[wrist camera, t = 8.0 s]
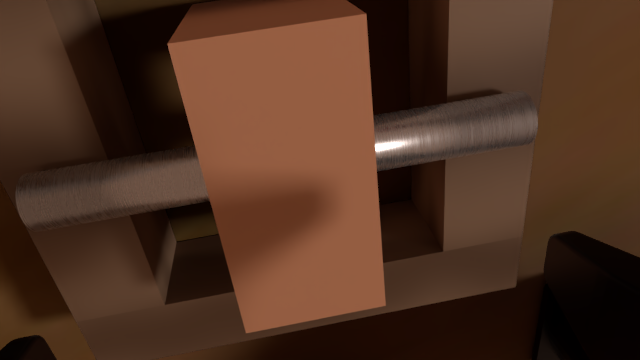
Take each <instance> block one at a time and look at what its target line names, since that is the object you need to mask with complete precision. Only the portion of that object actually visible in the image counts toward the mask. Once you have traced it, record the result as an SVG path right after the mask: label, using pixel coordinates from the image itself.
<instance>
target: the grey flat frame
mask: <svg viewBox="0 0 640 360" xmlns="http://www.w3.org/2000/svg"><path fill="white" fill-rule="evenodd" d="M552 6H553V0H408V25H409V79H410V109H413V108H419V107H425V106H431V105H437V104H443V103H449V102H455V101H461V100H467V99H473V98H479V97H485V96H491V95H497V94H502V93H508V92H514V91H524V92H526V93H527V94H528V95H529V96H530V97H531V98H532V100H533V102H534V105H535V107H536V111H537V117H538V113H539V106H540V98H541V90H542V83H543V75H544V67H545V60H546V52H547V44H548V37H549V29H550V21H551V14H552ZM534 144H535V139H534V140H533V142H532V143H530V144H528V145H523V146H518V147H512V148H506V149H501V150H495V151H489V152H484V153H478V154H472V155H467V156H461V157H456V158H450V159H444V160H439V161H433V162H427V163H422V164H416V165H411V187H412V199H411V200H405V201H400V202H394V203H389V204H384V205H379V211H380V226H381V241H382V256H383V271H384V286H385V301H386V306H382V307H377V308H372V309H367V310H362V311H357V312H352V313H347V314H341V315H336V316H331V317H326V318H321V319H316V320H311V321H306V322H301V323H296V324H291V325H286V326H281V327H276V328H271V329H266V330H261V331H256V332H251V333H246V331H245V328H244V324H243V320H242V317H241V313H240V309H239V306H238V302H237V298H236V295H235V291H234V287H233V284H232V280H231V276H230V273H229V269H228V265H227V261H226V258H225V254H224V250H223V247H222V243H221V239H220V236H219V235H214V236H208V237H203V238H197V239H192V240H187V241H181V242H176V239H175V236H174V234H173V231H172V228H171V225H170V222H169V219H168V216H167V213H166V210H165V209H162V210H157V211H151V212H145V213H140V214H134V215H129V216H123V217H117V218H112V219H106V220H100V221H95V222H89V223H83V224H78V225H72V226H66V227H61V228H55V229H50V230H44V231H38V232H35V231H32V230H30V229H29V228H28V227H27V226H26V225H25V224H24V223H23V224H24V226H25V227H26V229H27V231H28V233H29V235H30V237H31V239H32V240H33V242H34V244H35V246H36V248H37V250H38V252H39V254H40V255H41V257H42V259H43V261H44V263H45V265H46V267H47V268H48V270H49V272H50V274H51V276H52V278H53V280H54V281H55V283H56V285H57V287H58V289H59V291H60V293H61V295H62V296H63V298H64V300H65V302H66V304H67V306H68V308H69V309H70V311H71V313H72V315H73V317H74V319H75V321H76V323H77V324H78V326H79V328H80V330H81V332H82V334H83V336H84V337H85V339H86V341H87V343H88V345H89V347H90V349H91V351H92V352H93V354H94V356H95V358H96V360H153V359H158V358H163V357H168V356H173V355H178V354H183V353H188V352H193V351H198V350H203V349H208V348H213V347H218V346H223V345H228V344H233V343H238V342H243V341H248V340H253V339H258V338H263V337H268V336H273V335H278V334H283V333H288V332H293V331H298V330H303V329H308V328H313V327H318V326H323V325H328V324H333V323H338V322H343V321H348V320H353V319H358V318H363V317H368V316H373V315H378V314H383V313H388V312H393V311H398V310H403V309H408V308H413V307H418V306H423V305H428V304H433V303H438V302H443V301H448V300H453V299H458V298H463V297H468V296H473V295H478V294H483V293H488V292H493V291H498V290H503V289H508V288H513V287H516V282H517V274H518V267H519V259H520V251H521V244H522V236H523V228H524V221H525V213H526V205H527V198H528V190H529V182H530V175H531V167H532V159H533V152H534ZM140 154H146V151H145V148H144V145H143V143H142V140H141V137H140V134H139V131H138V128H137V125H136V122H135V119H134V116H133V113H132V110H131V107H130V104H129V101H128V99H127V96H126V93H125V90H124V87H123V84H122V81H121V78H120V75H119V72H118V69H117V66H116V63H115V60H114V57H113V54H112V52H111V49H110V46H109V43H108V40H107V37H106V34H105V31H104V28H103V25H102V22H101V19H100V16H99V13H98V10H97V8H96V5H95V2H94V0H0V181H1V183H2V184H3V186H4V188H5V190H6V192H7V194H8V196H9V198H10V199H11V201H12V203H13V205H14V207H15V209H16V211H17V212H18V209H17V205H16V198H15V191H16V185H17V182H18V180H19V178H20V177H21V176H22V175H24V174H27V173H33V172H39V171H45V170H51V169H57V168H63V167H69V166H75V165H81V164H87V163H93V162H99V161H104V160H110V159H116V158H122V157H128V156H134V155H140ZM18 214H19V212H18ZM19 216H20V215H19ZM20 218H21V217H20ZM21 220H22V219H21ZM22 222H23V221H22Z"/></svg>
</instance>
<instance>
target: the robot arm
mask: <svg viewBox="0 0 640 360" xmlns="http://www.w3.org/2000/svg"><path fill="white" fill-rule="evenodd" d="M544 276H545V279H546V282H547V284H546V285H545V287H544V293H543V298H542V304H541V310H540V316H539V322H538V327H537V333H536V339H535V345H534V351H533V356H532V360H640V258H639V257H637V256H635V255H632V254H630V253H627V252H625V251H622V250H620V249H618V248H615V247H613V246H610V245H608V244H605V243H603V242H600V241H598V240H596V239H593V238H591V237H588V236H586V235H583V234H581V233H578V232H576V231H568V232H563V233H558V234H554V235H552V236H551V237H550V238H549V241H548V246H547V252H546V258H545V264H544ZM0 360H57V359H56V358H55V356H54V354H53V353H52V351H51V349H50V348H49V346H48V344H47V343H46V341H45V340H44V338H43V337H41V336H39V335H33V336H28V337H23V338H18V339H15V340H12V341H11V342H9V343H8V344H7V345H6V346H5V347H4V348H2V349H1V350H0Z"/></svg>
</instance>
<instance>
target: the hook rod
mask: <svg viewBox="0 0 640 360" xmlns="http://www.w3.org/2000/svg"><path fill="white" fill-rule="evenodd" d="M373 120H374V136H375V151H376V166H377V171H382V170H388V169H394V168H399V167H405V166H410V165H416V164H422V163H427V162H433V161H439V160H444V159H450V158H456V157H461V156H467V155H472V154H478V153H484V152H489V151H495V150H501V149H506V148H512V147H518V146H523V145H528V144H530V143H532V142H533V140H534V139H535V137H536V134H537V129H538V117H537V111H536V107H535V105H534V102H533V100H532V98H531V97H530V96H529V95H528V94H527V93H526V92H524V91H514V92H508V93H502V94H497V95H491V96H485V97H479V98H473V99H467V100H461V101H455V102H449V103H443V104H437V105H431V106H425V107H419V108H413V109H407V110H401V111H396V112H390V113H384V114H378V115H373ZM15 198H16V205H17V209H18V212H19V215H20V217H21V219H22V221H23V223H24V224H25V225H26V226H27V227H28V228H29V229H30V230H32V231H35V232H38V231H44V230H50V229H55V228H61V227H66V226H72V225H78V224H83V223H89V222H95V221H100V220H106V219H112V218H117V217H123V216H129V215H134V214H140V213H145V212H151V211H157V210H162V209H168V208H174V207H179V206H185V205H191V204H196V203H202V202H207V201H210V199H209V195H208V192H207V188H206V184H205V181H204V177H203V173H202V170H201V166H200V162H199V159H198V155H197V151H196V148H195V145H194V146H188V147H182V148H176V149H170V150H164V151H158V152H152V153H146V154H140V155H134V156H128V157H122V158H116V159H110V160H104V161H99V162H93V163H87V164H81V165H75V166H69V167H63V168H57V169H51V170H45V171H39V172H33V173H27V174H24V175H22V176H21V177H20V178H19V180H18V182H17V185H16V191H15Z"/></svg>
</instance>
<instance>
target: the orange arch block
mask: <svg viewBox="0 0 640 360" xmlns="http://www.w3.org/2000/svg"><path fill="white" fill-rule="evenodd" d="M167 45H168V49H169V52H170V56H171V60H172V63H173V67H174V71H175V74H176V78H177V82H178V85H179V89H180V93H181V96H182V100H183V104H184V107H185V111H186V115H187V118H188V122H189V126H190V129H191V133H192V137H193V140H194V144H195V148H196V151H197V155H198V159H199V162H200V166H201V170H202V173H203V177H204V181H205V184H206V188H207V192H208V195H209V199H210V203H211V206H212V210H213V214H214V217H215V221H216V225H217V228H218V232H219V236H220V239H221V243H222V247H223V250H224V254H225V258H226V261H227V265H228V269H229V273H230V276H231V280H232V284H233V287H234V291H235V295H236V298H237V302H238V306H239V309H240V313H241V317H242V320H243V324H244V328H245V331H246V333H251V332H256V331H261V330H266V329H271V328H276V327H281V326H286V325H291V324H296V323H301V322H306V321H311V320H316V319H321V318H326V317H331V316H336V315H341V314H347V313H352V312H357V311H362V310H367V309H372V308H377V307H382V306H386V301H385V286H384V271H383V256H382V241H381V226H380V211H379V196H378V181H377V166H376V151H375V136H374V120H373V105H372V90H371V75H370V60H369V45H368V30H367V15H366V13H365V12H363V11H362V10H360V9H359V8H357V7H356V6H354V5H353V4H351V3H350V2H348V1H347V0H218V1H211V2H204V3H197V4H192V6H191V7H190V9H189V10H188V12H187V13H186V15H185V17H184V18H183V20H182V21H181V23H180V24H179V26H178V28H177V29H176V31H175V32H174V34H173V35H172V37H171V39H170V40H169V42H168V43H167Z"/></svg>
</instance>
